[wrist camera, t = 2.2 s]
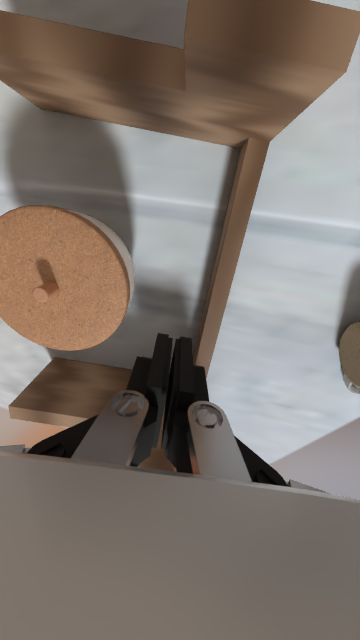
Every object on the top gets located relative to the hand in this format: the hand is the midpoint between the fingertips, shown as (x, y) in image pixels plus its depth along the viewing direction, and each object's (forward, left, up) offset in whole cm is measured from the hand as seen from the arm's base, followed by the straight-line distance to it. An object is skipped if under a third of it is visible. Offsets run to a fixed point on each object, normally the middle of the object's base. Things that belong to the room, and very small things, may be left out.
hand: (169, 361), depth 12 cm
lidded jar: (+9, 0, -14) cm, 17 cm away
